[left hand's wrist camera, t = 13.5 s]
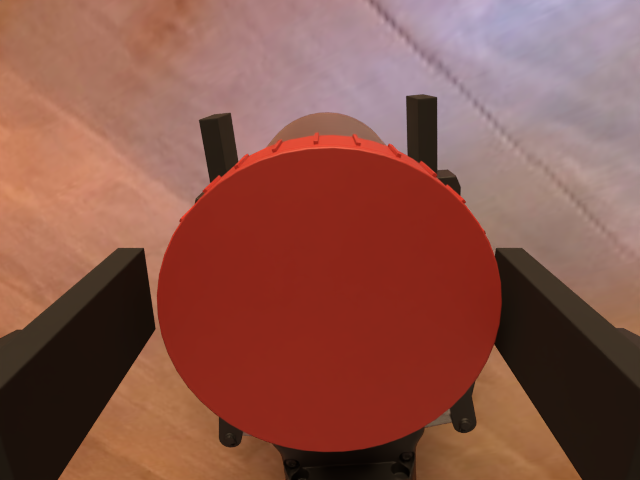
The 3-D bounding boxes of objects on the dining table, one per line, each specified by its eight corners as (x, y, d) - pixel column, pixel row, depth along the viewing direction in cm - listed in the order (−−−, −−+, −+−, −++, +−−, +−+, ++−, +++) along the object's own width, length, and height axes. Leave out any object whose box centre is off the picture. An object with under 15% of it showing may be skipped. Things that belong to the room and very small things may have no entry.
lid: (117, 253, 14) (80, 285, 11) (367, 61, 12) (376, 58, 10) (299, 444, 16) (295, 498, 14) (530, 312, 14) (565, 353, 12)
